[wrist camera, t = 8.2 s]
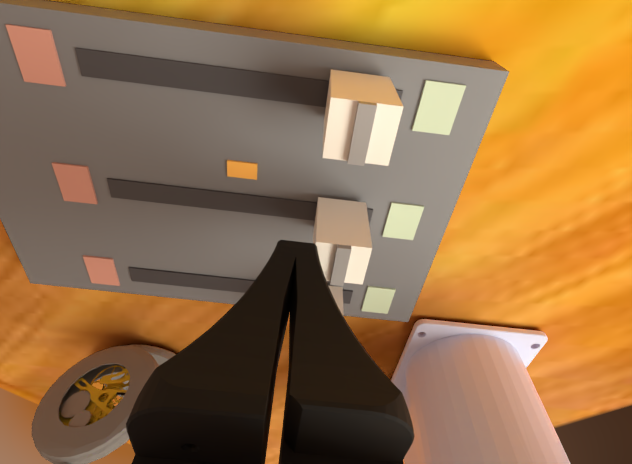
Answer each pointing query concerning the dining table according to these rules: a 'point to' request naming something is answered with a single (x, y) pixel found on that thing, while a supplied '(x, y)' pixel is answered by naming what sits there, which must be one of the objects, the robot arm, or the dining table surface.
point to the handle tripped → (342, 240)
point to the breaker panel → (216, 152)
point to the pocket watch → (93, 404)
